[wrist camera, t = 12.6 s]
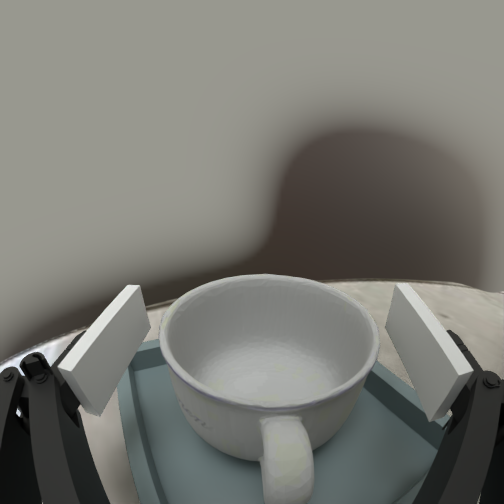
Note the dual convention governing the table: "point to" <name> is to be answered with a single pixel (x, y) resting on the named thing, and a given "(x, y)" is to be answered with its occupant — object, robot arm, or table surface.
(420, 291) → the table surface
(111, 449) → the table surface
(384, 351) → the table surface
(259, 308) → the teacup
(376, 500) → the tray
